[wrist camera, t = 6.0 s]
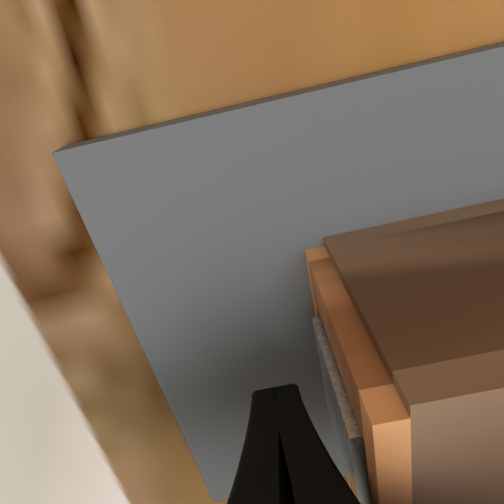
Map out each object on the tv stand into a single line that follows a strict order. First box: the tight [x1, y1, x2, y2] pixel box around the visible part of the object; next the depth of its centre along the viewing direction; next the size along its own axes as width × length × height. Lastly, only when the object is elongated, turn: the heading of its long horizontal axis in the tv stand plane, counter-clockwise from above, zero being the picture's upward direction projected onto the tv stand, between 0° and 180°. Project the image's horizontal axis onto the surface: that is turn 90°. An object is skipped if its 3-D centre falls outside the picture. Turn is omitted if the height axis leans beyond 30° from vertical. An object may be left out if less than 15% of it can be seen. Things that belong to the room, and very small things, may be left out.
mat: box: [52, 42, 504, 501], centre depth 13 cm, size 16×17×1 cm
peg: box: [312, 315, 371, 504], centre depth 10 cm, size 4×8×4 cm, turn 102°
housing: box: [304, 199, 504, 504], centre depth 10 cm, size 8×9×6 cm
